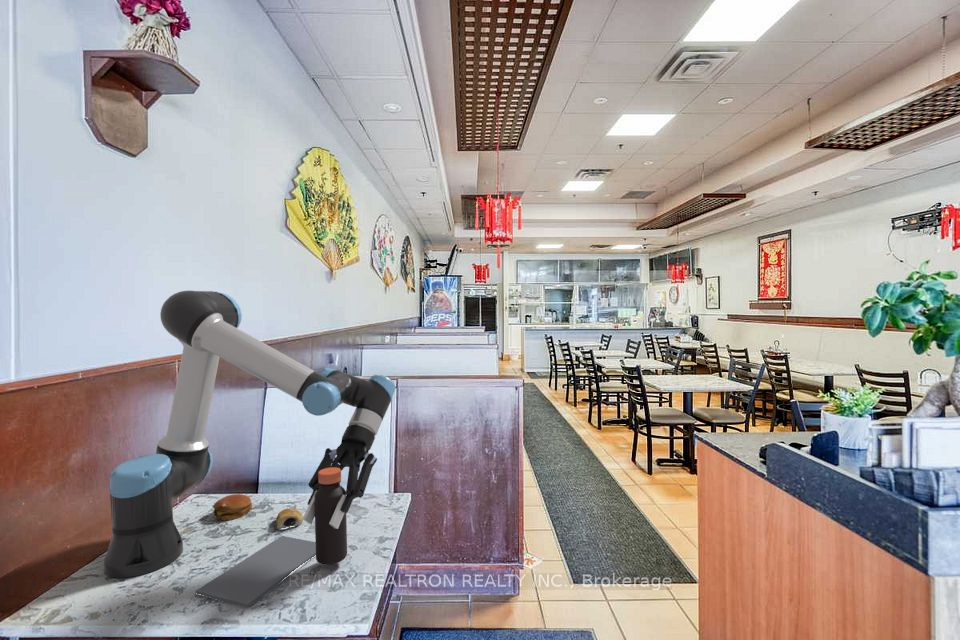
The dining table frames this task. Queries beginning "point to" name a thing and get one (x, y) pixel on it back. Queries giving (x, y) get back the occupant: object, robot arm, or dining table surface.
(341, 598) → the dining table surface
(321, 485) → the vinegar
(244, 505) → the burger
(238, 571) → the mat
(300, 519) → the pastry
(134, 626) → the dining table surface
